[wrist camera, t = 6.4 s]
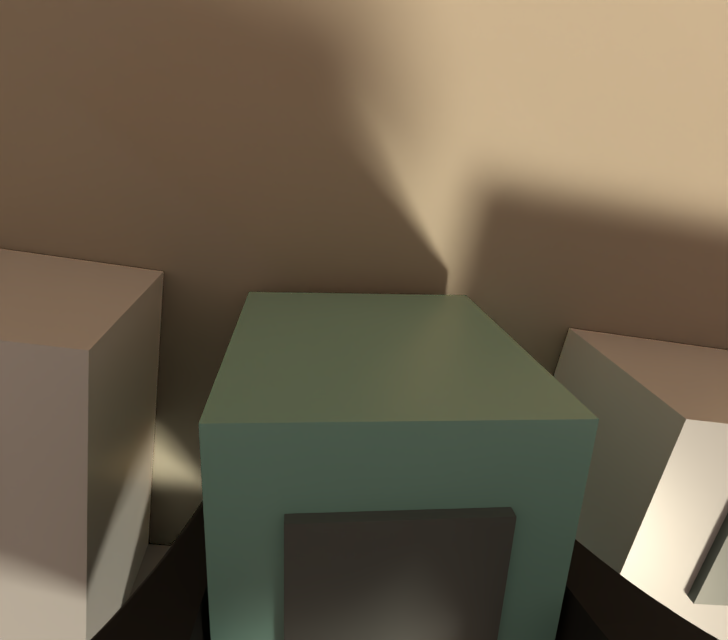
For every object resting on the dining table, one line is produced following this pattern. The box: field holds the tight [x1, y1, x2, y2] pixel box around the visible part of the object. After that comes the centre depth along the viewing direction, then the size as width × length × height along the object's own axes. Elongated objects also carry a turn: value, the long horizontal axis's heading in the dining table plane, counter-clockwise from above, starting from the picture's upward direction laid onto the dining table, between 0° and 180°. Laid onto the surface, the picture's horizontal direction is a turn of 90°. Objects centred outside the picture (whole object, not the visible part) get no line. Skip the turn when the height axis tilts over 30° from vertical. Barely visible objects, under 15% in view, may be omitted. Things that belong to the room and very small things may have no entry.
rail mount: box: [0, 249, 728, 640], centre depth 12 cm, size 26×10×5 cm, turn 80°
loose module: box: [199, 292, 599, 640], centre depth 10 cm, size 5×7×6 cm
